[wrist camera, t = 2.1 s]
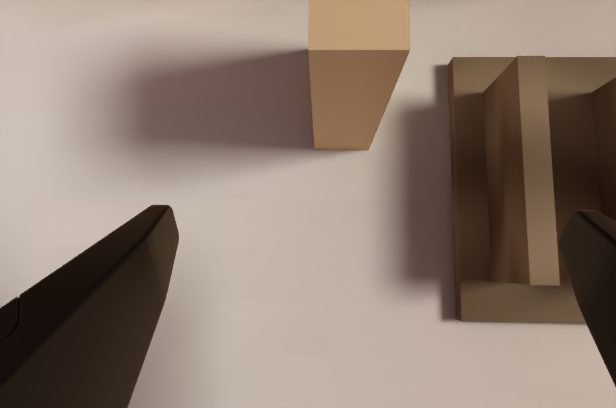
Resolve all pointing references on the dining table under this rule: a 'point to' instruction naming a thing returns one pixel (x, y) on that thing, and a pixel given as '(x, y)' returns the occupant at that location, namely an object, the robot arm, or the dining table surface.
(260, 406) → the dining table surface
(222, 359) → the dining table surface
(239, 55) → the dining table surface
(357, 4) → the tan rectangular block
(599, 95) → the slot rack
